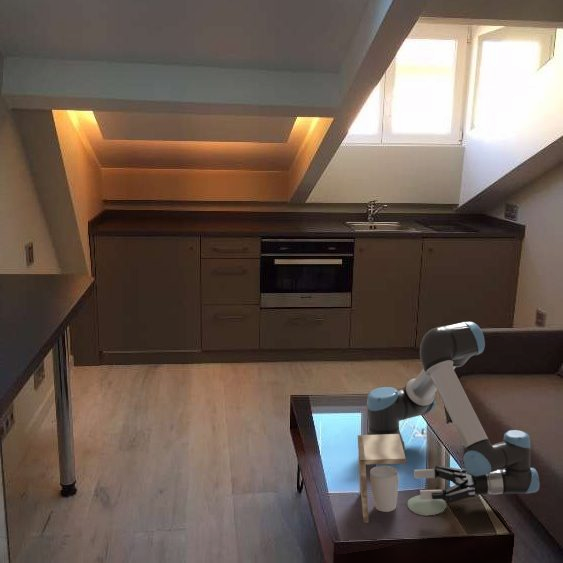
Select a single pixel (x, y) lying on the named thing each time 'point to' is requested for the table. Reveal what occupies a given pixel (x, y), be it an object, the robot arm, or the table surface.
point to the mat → (426, 505)
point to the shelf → (377, 458)
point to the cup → (384, 487)
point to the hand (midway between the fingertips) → (417, 484)
